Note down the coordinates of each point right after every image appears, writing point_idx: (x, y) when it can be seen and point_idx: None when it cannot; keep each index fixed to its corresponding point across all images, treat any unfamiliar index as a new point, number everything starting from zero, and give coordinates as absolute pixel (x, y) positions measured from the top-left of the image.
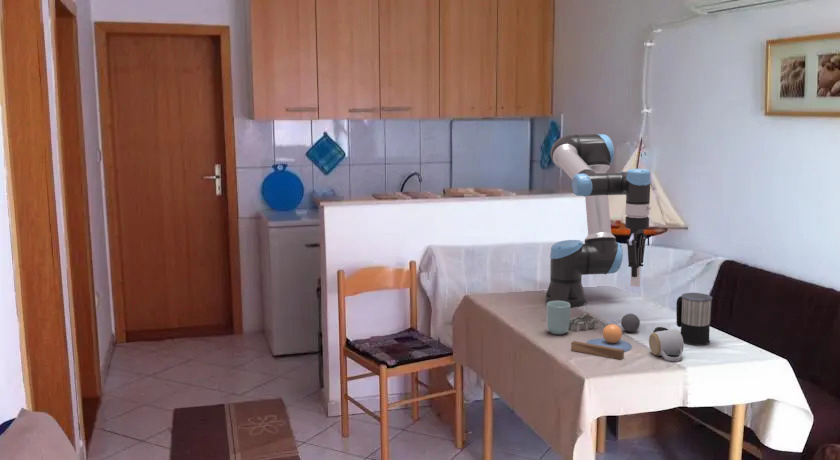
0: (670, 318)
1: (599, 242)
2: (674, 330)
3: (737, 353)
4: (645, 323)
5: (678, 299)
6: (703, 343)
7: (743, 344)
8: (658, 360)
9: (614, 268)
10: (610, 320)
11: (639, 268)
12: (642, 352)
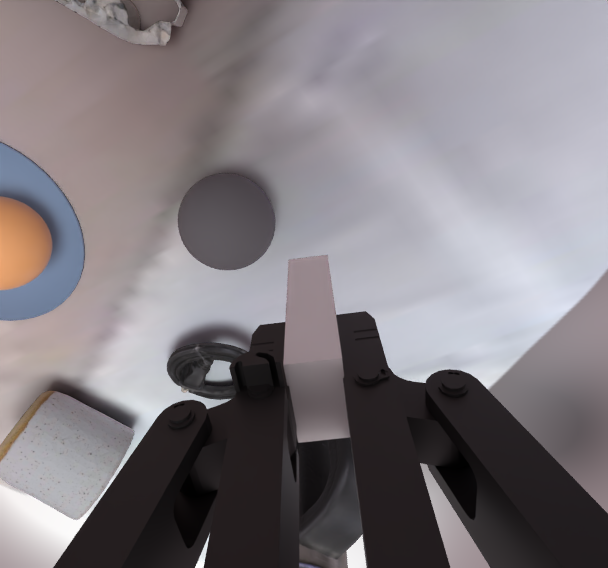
0: (549, 254)
1: None
2: (67, 509)
3: None
4: (403, 202)
5: (331, 487)
6: None
7: None
8: (14, 425)
9: None
10: (348, 17)
11: (314, 431)
12: (35, 361)
